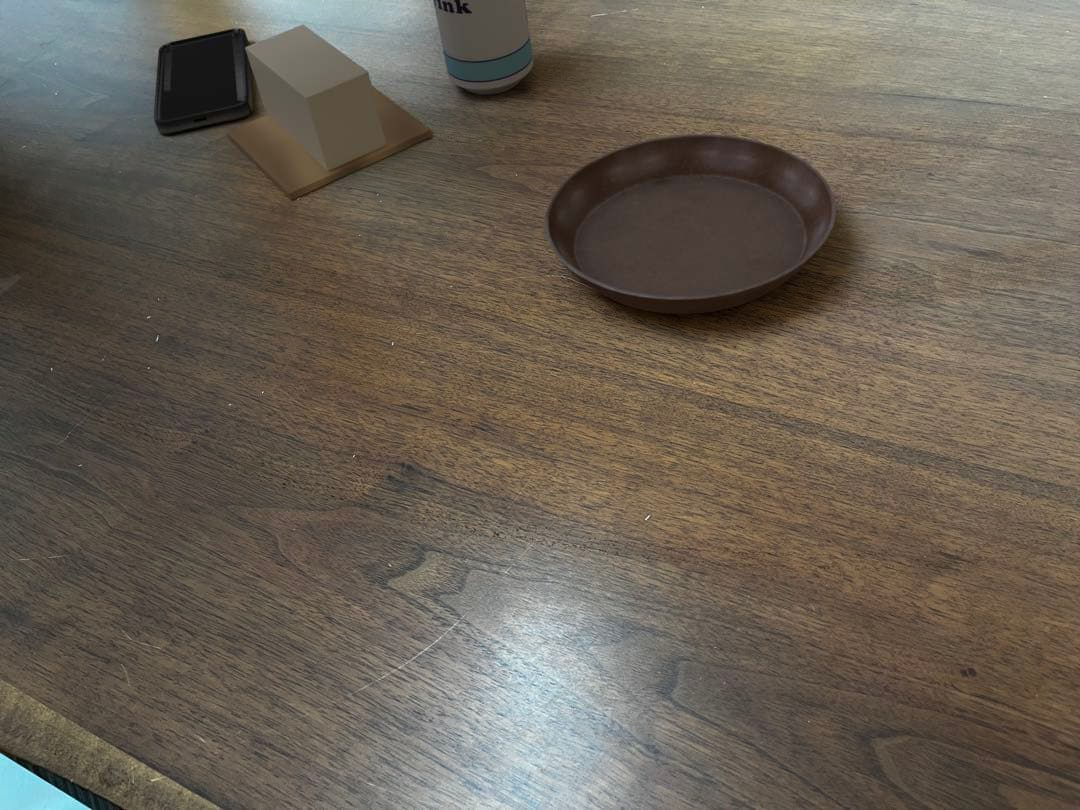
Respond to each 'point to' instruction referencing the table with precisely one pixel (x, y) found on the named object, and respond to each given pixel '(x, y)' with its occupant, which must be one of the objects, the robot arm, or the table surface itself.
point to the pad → (300, 169)
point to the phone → (203, 81)
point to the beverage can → (485, 43)
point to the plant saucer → (690, 222)
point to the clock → (317, 96)
